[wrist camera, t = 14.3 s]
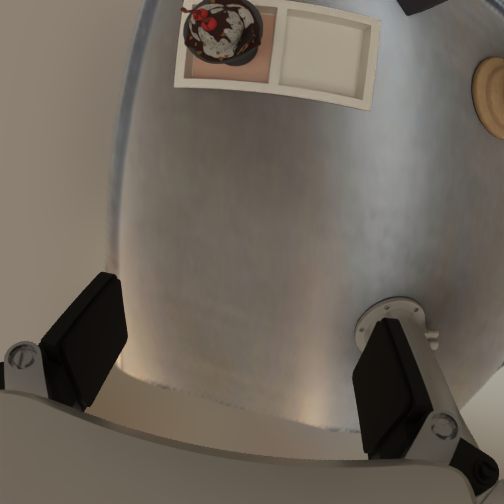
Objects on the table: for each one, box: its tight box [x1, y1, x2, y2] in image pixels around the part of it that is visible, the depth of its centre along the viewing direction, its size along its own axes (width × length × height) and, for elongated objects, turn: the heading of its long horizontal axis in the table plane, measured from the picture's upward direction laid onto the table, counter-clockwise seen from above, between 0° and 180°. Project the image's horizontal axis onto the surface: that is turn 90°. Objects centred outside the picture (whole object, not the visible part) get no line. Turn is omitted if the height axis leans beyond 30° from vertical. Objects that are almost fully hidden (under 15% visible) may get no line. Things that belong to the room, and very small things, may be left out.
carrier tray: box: [174, 0, 381, 111], centre depth 28 cm, size 21×11×4 cm, turn 84°
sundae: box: [181, 0, 263, 66], centre depth 23 cm, size 7×7×15 cm
